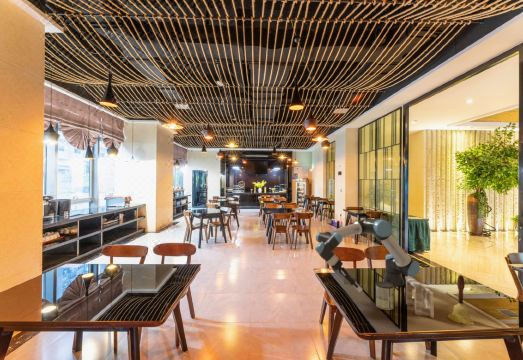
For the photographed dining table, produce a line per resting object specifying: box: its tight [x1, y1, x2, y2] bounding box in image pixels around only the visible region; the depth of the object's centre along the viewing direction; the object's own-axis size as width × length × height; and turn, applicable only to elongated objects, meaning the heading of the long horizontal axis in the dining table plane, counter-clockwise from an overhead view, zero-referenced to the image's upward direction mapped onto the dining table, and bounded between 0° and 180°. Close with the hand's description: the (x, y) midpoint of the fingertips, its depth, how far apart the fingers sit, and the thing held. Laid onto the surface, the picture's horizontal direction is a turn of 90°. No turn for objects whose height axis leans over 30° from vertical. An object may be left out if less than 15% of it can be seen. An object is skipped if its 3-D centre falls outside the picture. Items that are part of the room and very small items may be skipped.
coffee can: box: [375, 281, 394, 311], centre depth 173 cm, size 10×10×14 cm
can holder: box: [404, 275, 435, 319], centre depth 169 cm, size 20×9×18 cm, turn 169°
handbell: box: [447, 274, 474, 325], centre depth 157 cm, size 12×12×25 cm
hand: (361, 290), depth 175 cm, fingers closed
